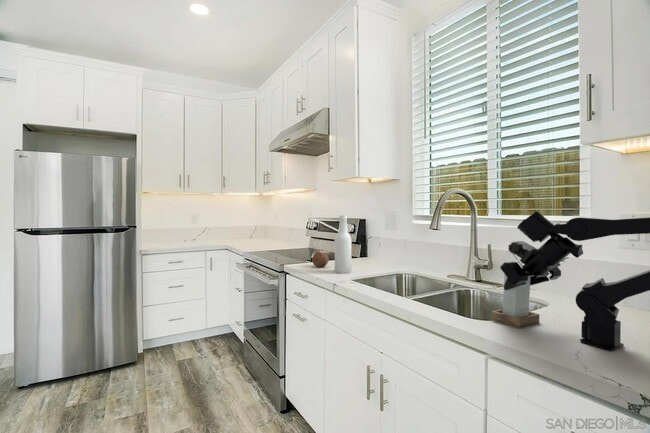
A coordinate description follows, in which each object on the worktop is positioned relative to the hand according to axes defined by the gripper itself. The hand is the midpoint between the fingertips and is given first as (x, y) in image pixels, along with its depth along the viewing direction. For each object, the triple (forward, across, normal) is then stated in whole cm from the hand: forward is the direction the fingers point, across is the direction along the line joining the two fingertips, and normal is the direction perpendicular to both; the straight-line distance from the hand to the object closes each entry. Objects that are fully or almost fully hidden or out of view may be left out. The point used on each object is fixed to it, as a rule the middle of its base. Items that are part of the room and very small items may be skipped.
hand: (512, 287), depth 99 cm
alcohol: (+69, +10, -57) cm, 90 cm away
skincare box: (+5, 0, +6) cm, 8 cm away
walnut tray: (+6, 0, +8) cm, 10 cm away
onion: (+83, +15, -71) cm, 110 cm away
